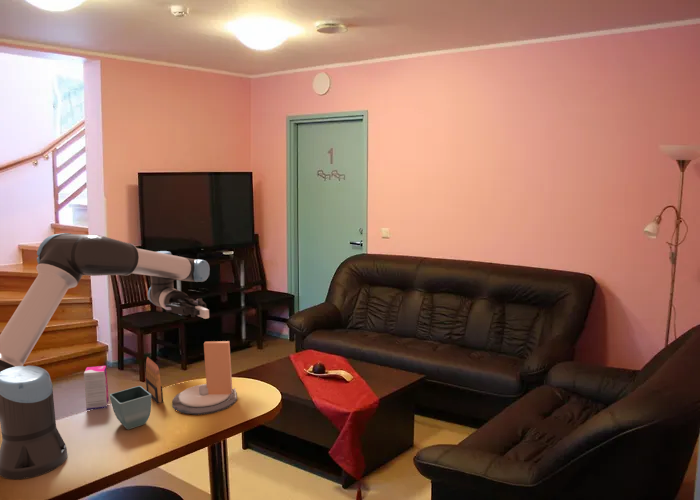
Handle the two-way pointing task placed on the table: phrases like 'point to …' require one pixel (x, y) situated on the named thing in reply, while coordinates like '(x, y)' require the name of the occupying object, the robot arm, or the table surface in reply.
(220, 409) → the base
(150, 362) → the ammunition clip
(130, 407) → the flower pot
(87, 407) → the supplement box
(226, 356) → the dial
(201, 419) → the table surface
